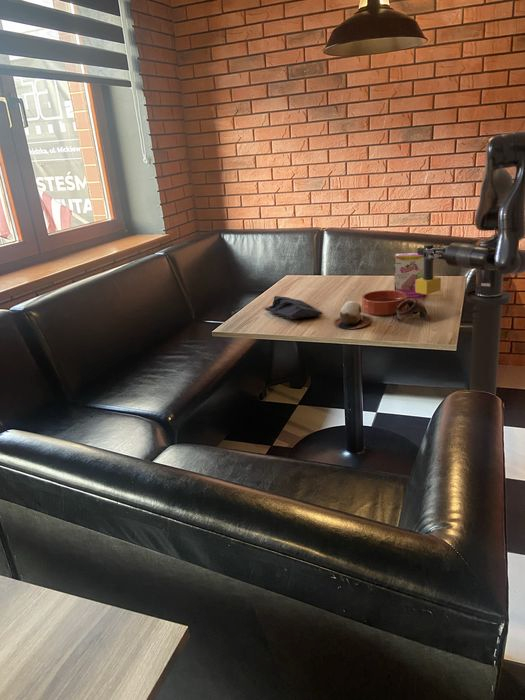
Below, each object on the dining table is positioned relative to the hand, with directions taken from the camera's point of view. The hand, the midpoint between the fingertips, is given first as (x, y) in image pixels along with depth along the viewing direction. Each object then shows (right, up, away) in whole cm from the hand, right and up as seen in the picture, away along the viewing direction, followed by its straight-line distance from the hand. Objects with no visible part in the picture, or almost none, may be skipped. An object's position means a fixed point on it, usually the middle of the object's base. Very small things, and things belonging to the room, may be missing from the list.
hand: (421, 250), depth 181 cm
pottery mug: (-4, -24, -4) cm, 25 cm away
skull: (-24, -25, -1) cm, 34 cm away
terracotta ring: (-11, -19, +10) cm, 24 cm away
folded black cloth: (-43, -20, +16) cm, 50 cm away
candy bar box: (+2, -14, +22) cm, 26 cm away
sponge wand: (+3, -14, +3) cm, 14 cm away
